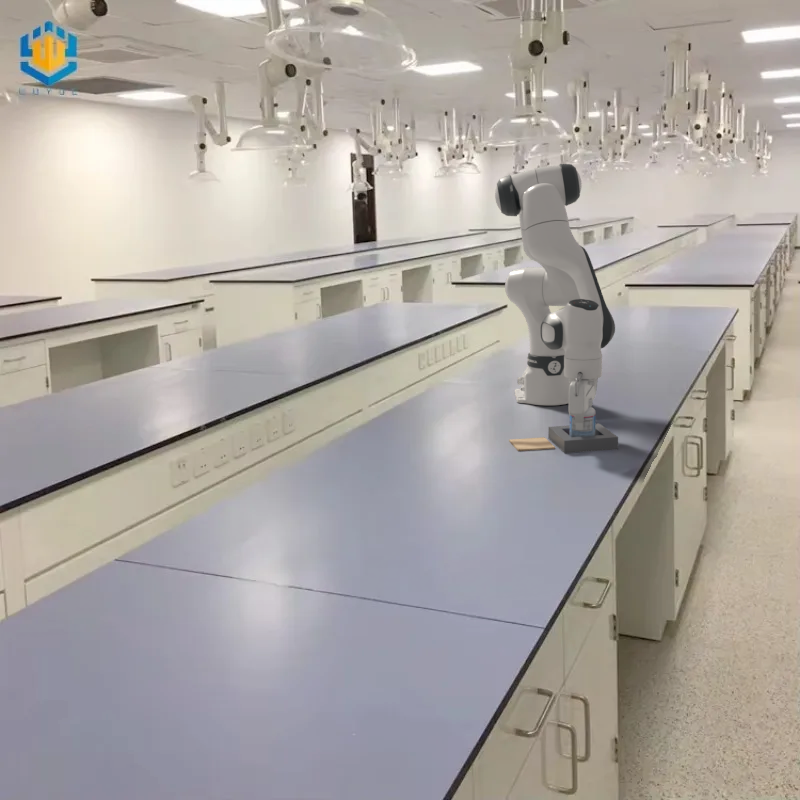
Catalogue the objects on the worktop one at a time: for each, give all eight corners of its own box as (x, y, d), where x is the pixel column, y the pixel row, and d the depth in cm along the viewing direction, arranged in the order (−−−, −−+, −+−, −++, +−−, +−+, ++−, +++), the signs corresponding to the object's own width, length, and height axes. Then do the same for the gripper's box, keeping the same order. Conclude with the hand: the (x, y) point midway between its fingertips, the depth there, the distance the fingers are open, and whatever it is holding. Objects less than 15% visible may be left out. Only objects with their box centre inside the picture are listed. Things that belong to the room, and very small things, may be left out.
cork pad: (509, 441, 212) (509, 439, 212) (544, 438, 213) (544, 437, 213) (518, 451, 203) (518, 449, 203) (555, 448, 204) (555, 447, 204)
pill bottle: (576, 439, 212) (577, 394, 209) (599, 442, 208) (600, 397, 205) (564, 444, 207) (565, 399, 205) (587, 448, 203) (588, 402, 201)
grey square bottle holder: (548, 438, 213) (548, 426, 212) (599, 435, 214) (599, 423, 214) (564, 453, 200) (564, 440, 200) (617, 449, 202) (618, 437, 201)
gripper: (590, 378, 193) (589, 437, 196) (601, 361, 211) (600, 415, 215) (562, 377, 195) (561, 435, 198) (576, 360, 214) (575, 414, 217)
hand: (582, 425), depth 206 cm, fingers closed on pill bottle, 6 cm apart
